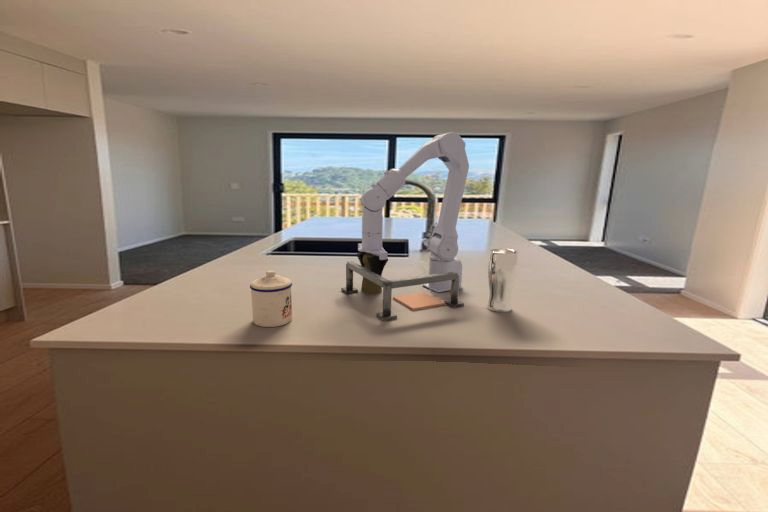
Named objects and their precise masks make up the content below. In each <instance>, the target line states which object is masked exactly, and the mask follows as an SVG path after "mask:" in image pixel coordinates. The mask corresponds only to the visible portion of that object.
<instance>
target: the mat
mask: <svg viewBox="0 0 768 512" xmlns="http://www.w3.org/2000/svg"><path fill="white" fill-rule="evenodd" d="M392 300H394V301H396V302H397V303H399V304H401V305H403V306H405V307H406V308H408V310H409V309H410V310H411V311H413V312H414V311H419V310H420V311H421V310H423V309H424V310H425V309H430V308H436V307H440V306H446V305H445V302H444V300H440V298H436V297H435V296H433V295H431V294H429V293H426V292H425V291H420V292H414V293H409V294H402V295H396V296H393V297H392Z"/></svg>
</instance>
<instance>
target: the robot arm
mask: <svg viewBox="0 0 768 512" xmlns="http://www.w3.org/2000/svg"><path fill="white" fill-rule="evenodd" d="M433 159H439V160H440V161H442V163H443V164H444V166H446V168H447V169H448V174H447V179H446V183H445V188H444V193H443V197H442V201H441V207H440V211H439V216H438V221H437V224H436V226H435V227H434V228H433V230H432V234H431V236H430V237H429V239H428V241H427V248H428V250H429V251H430V255H429V262H428V265H429V267H428V275H432V274H440V273H447V272H456V273H458V275H460V277H459V290H461V289H464V287H463V286H462V278H463V264H462V261H461V260H460V258H458V257H456V256H457V255H458V252H459V245H458V244H459V243H458V239H459V235H458V231H457V224H458V218H459V215H460V210H461V205H462V202H463V201H462V200H463V195H464V193H465V187H466V183H467V178H468V175H469V174H468V173H469V170H470V168H469V167H470V163H469V159H468V156H467V152H466V142H465V141H464V140H463V138H462V137H461V135H460V134H458V133H457V132H454V131H450V132H446V133H444V134H437V135H435V136H434V137H433V138H432V139H430V140H428V141H427V142H425V143H424V144H422V146H421V147H420V148H419V149H418V150H416V152H414V153H413V154H412V155H411V156H410V157H409V158H408V159H407V160H406V161H405V162H404V163H402V165H401V166H400V167H399V168H398V169H397V168H396V169H395V168H390V169H389V170H388V169H386V170H385V171H384V172H383V176H381V177H380V178H379V179H378V180H377V181H375V182H372V183H371V184H370V186H371V188H367V189H365V190H364V191H363V192H362V194H361V196H360V203H361V205H362V210H361V211H362V216H361V243H357V250H358V252H357V253H356V256H357V259H358V261H359V265H360V266H362V267H364V266H365V265H364V263H363V256H364V255H365V254H366V253H371V254H373V255H374V257H370V258H367V260H368V262H369V265H370V269H371V271H372V272H374V273H376V274H378V275H380V276H382V275H383V271H384V268H385V266H386V265H387V263H388V261H389V258H388V252H387V251H386V250H385V249H384V247H383V225H384V224H383V222H384V221H383V220H384V219H383V218H384V217H383V208H384V207H385V204H386V202H387V200H390V198H392V197H393V196H394V195H396V194H397V192H399V191H400V190H401V189H402V188H403V187H404V186H405V185H406V179H407V178H408V177H409V176H410V175H411V174H413V173H414V172H416V170H417V169H419V168H420V167H421V166H422V165H424V164H425V163H426V162H427V161H428V160H433ZM421 285H422V286H423V287H425V288H427V289H429V290H432V291H434V292H436V293H443V292H448V291H449V292H450V291H451V280H448V281H441V282H434V283H427V284H421Z"/></svg>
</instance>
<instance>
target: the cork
mask: <svg viewBox="0 0 768 512" xmlns="http://www.w3.org/2000/svg"><path fill="white" fill-rule="evenodd" d="M370 257H374V255H373V254H371V253H366V254H365V255H364V256H363V263H364V265H365V266H364V268H366V269H368V270H370V271H371V269H370V265H369V262H368V260H367V258H370ZM361 281H362V282H361V288H360V289H361V291H360V292H361V293H363V294H367V295H376V294H380V293H383V288H382V287H381V286H379V285H377V284H375V283H374V282H372V281H370V280H368V279H367V278H365V277H363V276H362V280H361Z"/></svg>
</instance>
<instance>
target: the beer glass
mask: <svg viewBox="0 0 768 512" xmlns="http://www.w3.org/2000/svg"><path fill="white" fill-rule="evenodd" d="M518 254H519V252H518V250H514V249H509V248H492V249H490V250H489V258H488V265H487V279H488V288H489V291H488V292H489V293H488V299H487V303H486V308H487V309H488V310H490V311H493V312H496V313H508V312H511V311H512V300H511V298H512V297H511V296H512V292H513V288H514V286H515V282H516V277H517V273H518Z"/></svg>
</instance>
